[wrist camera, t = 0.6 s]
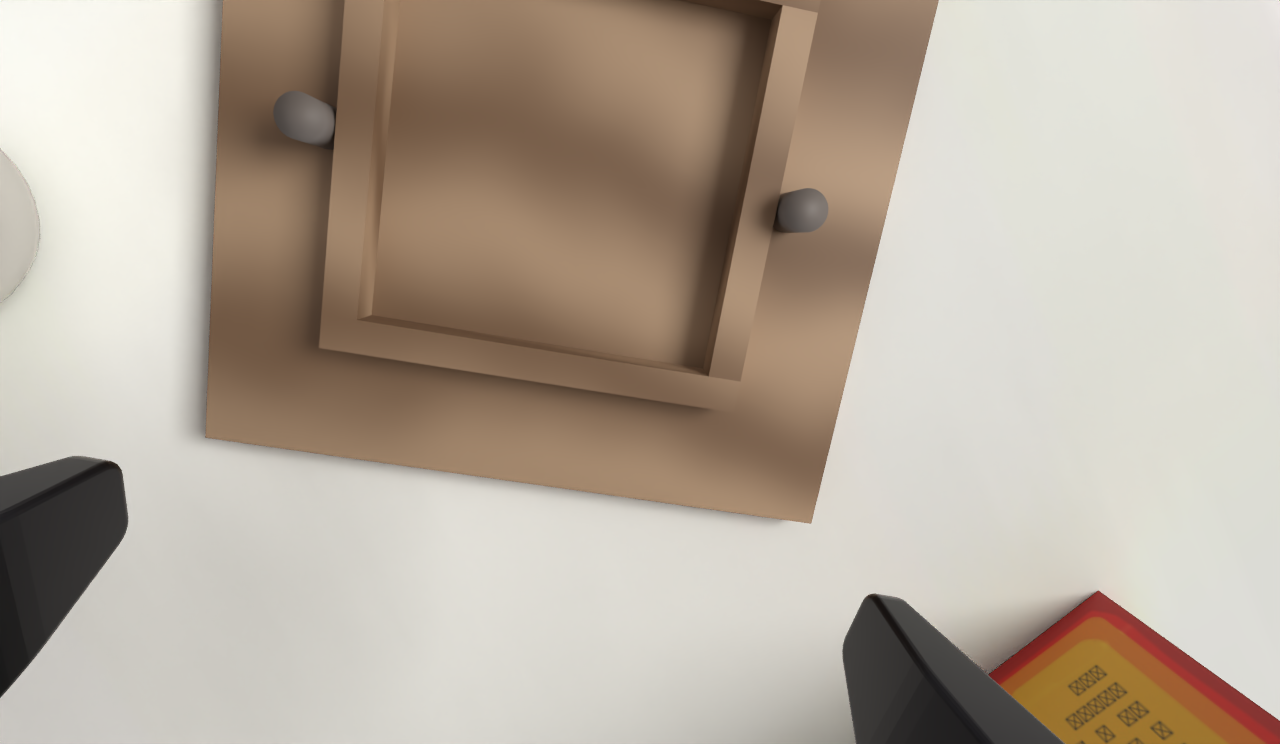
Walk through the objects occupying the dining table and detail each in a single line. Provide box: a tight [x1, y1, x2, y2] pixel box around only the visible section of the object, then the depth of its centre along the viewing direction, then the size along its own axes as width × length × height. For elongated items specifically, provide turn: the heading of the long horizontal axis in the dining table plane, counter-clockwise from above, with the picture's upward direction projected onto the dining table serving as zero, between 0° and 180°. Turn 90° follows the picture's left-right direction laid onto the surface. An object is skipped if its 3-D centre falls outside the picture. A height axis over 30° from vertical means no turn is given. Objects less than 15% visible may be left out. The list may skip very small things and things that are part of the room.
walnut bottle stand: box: [205, 0, 939, 523], centre depth 19 cm, size 20×20×3 cm
